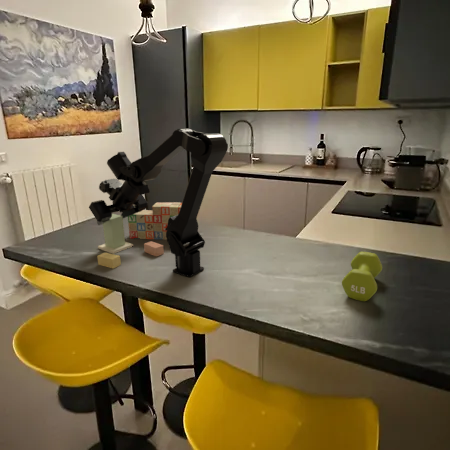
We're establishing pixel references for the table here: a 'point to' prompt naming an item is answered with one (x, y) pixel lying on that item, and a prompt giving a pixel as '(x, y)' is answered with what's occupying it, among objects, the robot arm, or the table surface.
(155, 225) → the stack of blocks
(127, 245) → the cream square slab
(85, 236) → the table surface
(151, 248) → the terracotta brick
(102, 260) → the ochre brick
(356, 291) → the dumbbell
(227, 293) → the table surface
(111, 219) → the sage brick
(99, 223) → the robot arm
